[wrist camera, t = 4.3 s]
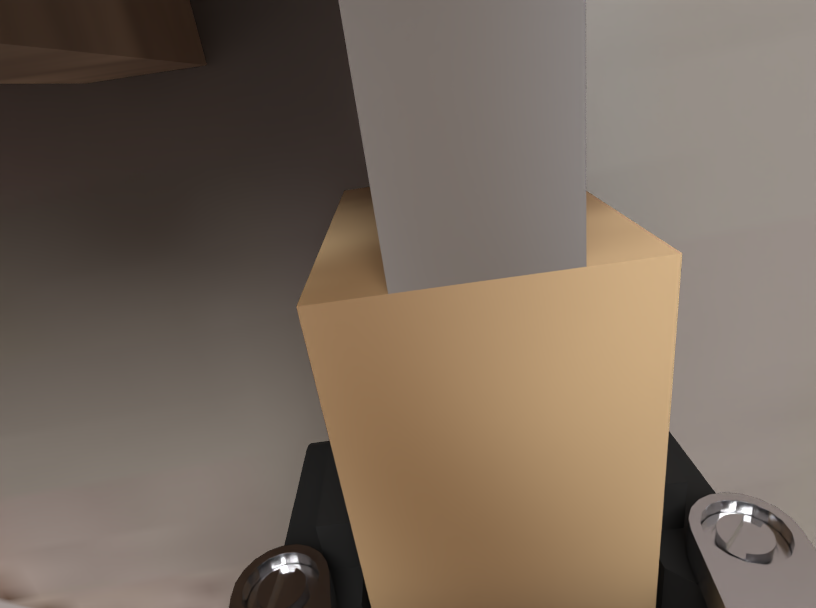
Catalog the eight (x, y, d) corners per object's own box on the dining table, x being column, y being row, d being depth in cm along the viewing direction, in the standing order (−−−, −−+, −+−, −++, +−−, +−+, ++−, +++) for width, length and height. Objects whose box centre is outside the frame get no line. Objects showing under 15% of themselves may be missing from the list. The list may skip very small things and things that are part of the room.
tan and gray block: (531, -119, 8) (731, -390, 3) (556, 564, 13) (639, 822, 9) (292, -80, 8) (150, -284, 3) (418, 580, 14) (430, 842, 9)
